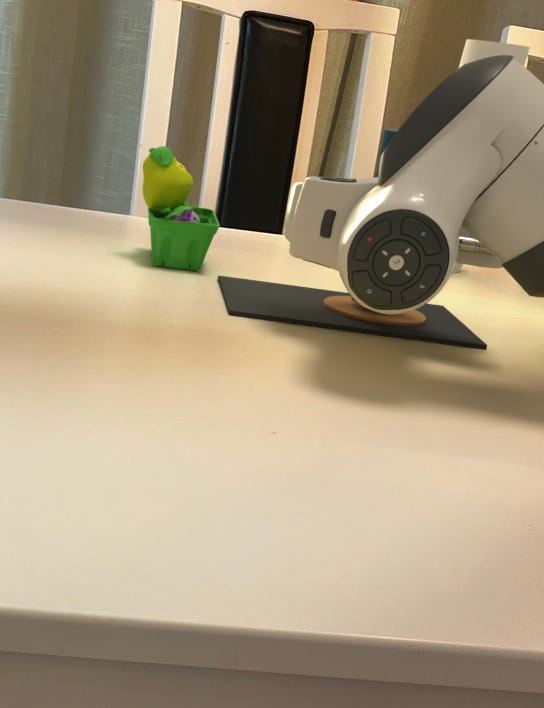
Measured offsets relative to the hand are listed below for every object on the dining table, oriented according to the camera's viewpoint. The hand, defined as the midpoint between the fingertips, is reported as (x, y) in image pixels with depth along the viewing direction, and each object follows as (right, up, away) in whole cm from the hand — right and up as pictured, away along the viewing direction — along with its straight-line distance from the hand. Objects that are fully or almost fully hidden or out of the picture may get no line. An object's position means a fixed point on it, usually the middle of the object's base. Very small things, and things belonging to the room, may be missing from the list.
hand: (399, 215), depth 95 cm
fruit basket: (-20, +2, +17) cm, 26 cm away
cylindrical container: (+16, +8, +35) cm, 39 cm away
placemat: (-4, -8, +4) cm, 10 cm away
